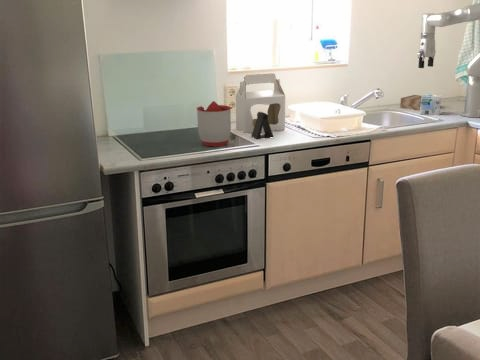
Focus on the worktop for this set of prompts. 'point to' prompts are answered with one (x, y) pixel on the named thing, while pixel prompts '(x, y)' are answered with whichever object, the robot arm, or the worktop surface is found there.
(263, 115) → the black a-shaped stand
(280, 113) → the gable box
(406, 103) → the walnut stand
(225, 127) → the citrus juicer
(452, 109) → the worktop surface
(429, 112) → the light bulb box
